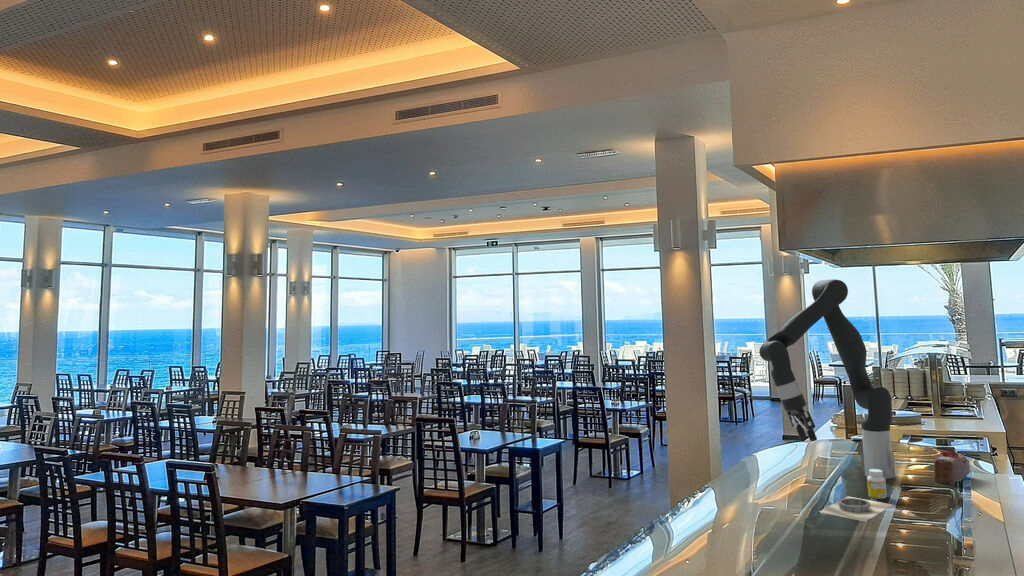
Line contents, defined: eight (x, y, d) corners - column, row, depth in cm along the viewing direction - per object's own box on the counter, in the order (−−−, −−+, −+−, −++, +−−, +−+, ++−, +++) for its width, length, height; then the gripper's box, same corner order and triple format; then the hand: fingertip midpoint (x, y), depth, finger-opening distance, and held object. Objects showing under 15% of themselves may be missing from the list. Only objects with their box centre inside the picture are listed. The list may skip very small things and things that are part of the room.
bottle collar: (866, 504, 212) (865, 498, 212) (873, 513, 204) (872, 507, 204) (836, 503, 214) (836, 497, 214) (842, 512, 206) (841, 506, 206)
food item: (947, 473, 242) (944, 446, 243) (972, 477, 236) (970, 449, 236) (932, 482, 234) (930, 453, 234) (958, 486, 228) (956, 457, 228)
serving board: (848, 499, 221) (847, 496, 221) (893, 508, 210) (893, 504, 210) (818, 515, 208) (818, 511, 208) (865, 525, 197) (865, 521, 197)
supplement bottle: (885, 503, 215) (882, 473, 215) (866, 500, 219) (864, 471, 219) (888, 498, 219) (886, 469, 220) (870, 496, 223) (868, 467, 223)
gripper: (809, 392, 229) (827, 437, 227) (792, 391, 243) (810, 434, 241) (788, 399, 229) (807, 445, 226) (773, 398, 243) (790, 441, 241)
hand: (808, 439), depth 234 cm, fingers open, 8 cm apart
